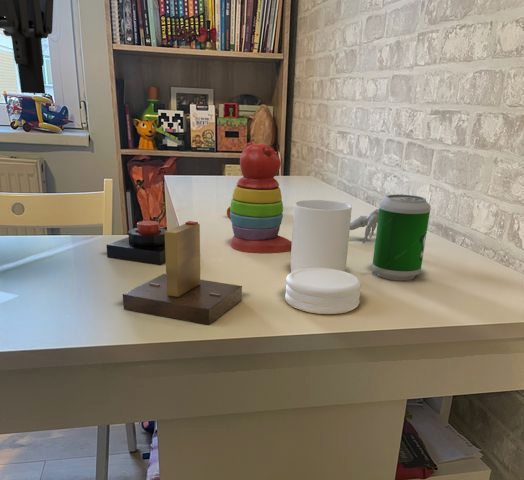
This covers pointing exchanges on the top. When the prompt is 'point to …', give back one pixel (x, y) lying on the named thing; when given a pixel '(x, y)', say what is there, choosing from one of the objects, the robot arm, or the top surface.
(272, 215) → the stacking bear
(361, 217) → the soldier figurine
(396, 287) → the top surface
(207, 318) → the plate
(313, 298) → the coaster
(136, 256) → the release box
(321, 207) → the mug
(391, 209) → the soda can
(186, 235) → the lock turn
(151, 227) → the release button
